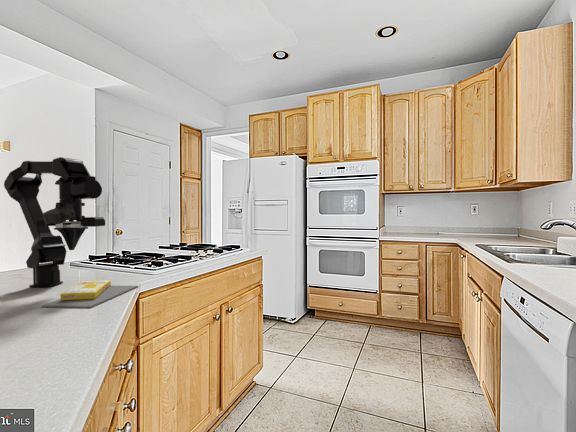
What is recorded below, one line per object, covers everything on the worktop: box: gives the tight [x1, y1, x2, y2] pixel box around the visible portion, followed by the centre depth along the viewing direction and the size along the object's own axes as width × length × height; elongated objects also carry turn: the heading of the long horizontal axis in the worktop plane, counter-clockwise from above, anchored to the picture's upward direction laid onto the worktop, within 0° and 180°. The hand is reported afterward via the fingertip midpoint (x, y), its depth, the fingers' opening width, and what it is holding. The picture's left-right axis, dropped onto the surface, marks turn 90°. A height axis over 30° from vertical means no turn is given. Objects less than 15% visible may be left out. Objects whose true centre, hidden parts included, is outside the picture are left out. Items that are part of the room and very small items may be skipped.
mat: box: [40, 284, 139, 309], centre depth 92 cm, size 13×22×1 cm, turn 176°
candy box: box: [59, 279, 112, 300], centre depth 94 cm, size 16×2×8 cm
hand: (71, 249), depth 101 cm, fingers closed
